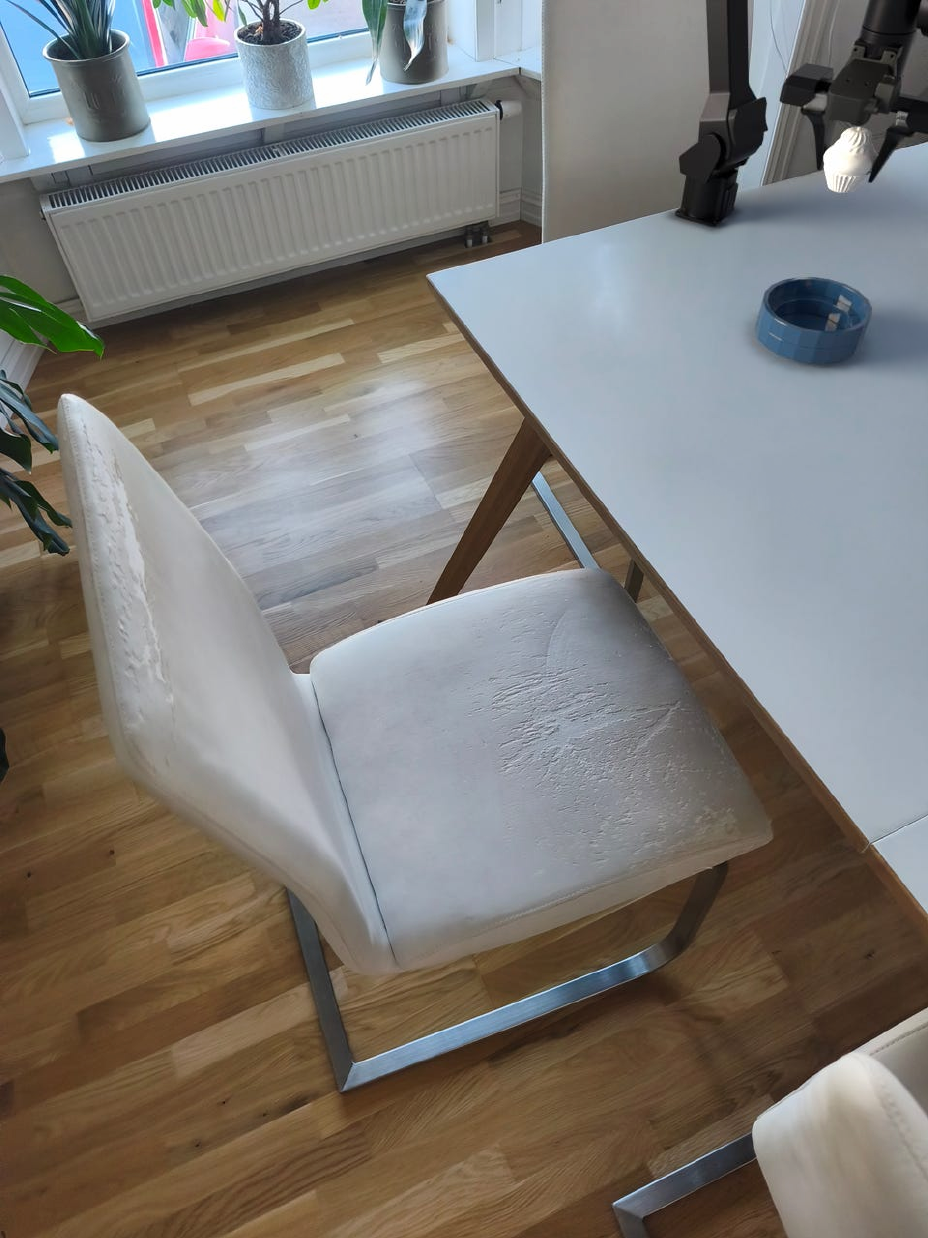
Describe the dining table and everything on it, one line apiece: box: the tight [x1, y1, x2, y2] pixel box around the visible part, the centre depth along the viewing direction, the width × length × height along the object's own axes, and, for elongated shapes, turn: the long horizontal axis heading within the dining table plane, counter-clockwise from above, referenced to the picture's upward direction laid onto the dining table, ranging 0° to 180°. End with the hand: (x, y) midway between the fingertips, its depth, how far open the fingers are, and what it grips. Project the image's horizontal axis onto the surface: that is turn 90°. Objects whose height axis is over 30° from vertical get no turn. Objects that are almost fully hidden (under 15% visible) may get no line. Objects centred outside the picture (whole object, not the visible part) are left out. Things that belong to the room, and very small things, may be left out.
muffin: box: [823, 126, 878, 194], centre depth 103 cm, size 6×6×7 cm
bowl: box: [754, 276, 873, 364], centre depth 101 cm, size 12×12×4 cm
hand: (844, 174), depth 104 cm, fingers closed on muffin, 6 cm apart
